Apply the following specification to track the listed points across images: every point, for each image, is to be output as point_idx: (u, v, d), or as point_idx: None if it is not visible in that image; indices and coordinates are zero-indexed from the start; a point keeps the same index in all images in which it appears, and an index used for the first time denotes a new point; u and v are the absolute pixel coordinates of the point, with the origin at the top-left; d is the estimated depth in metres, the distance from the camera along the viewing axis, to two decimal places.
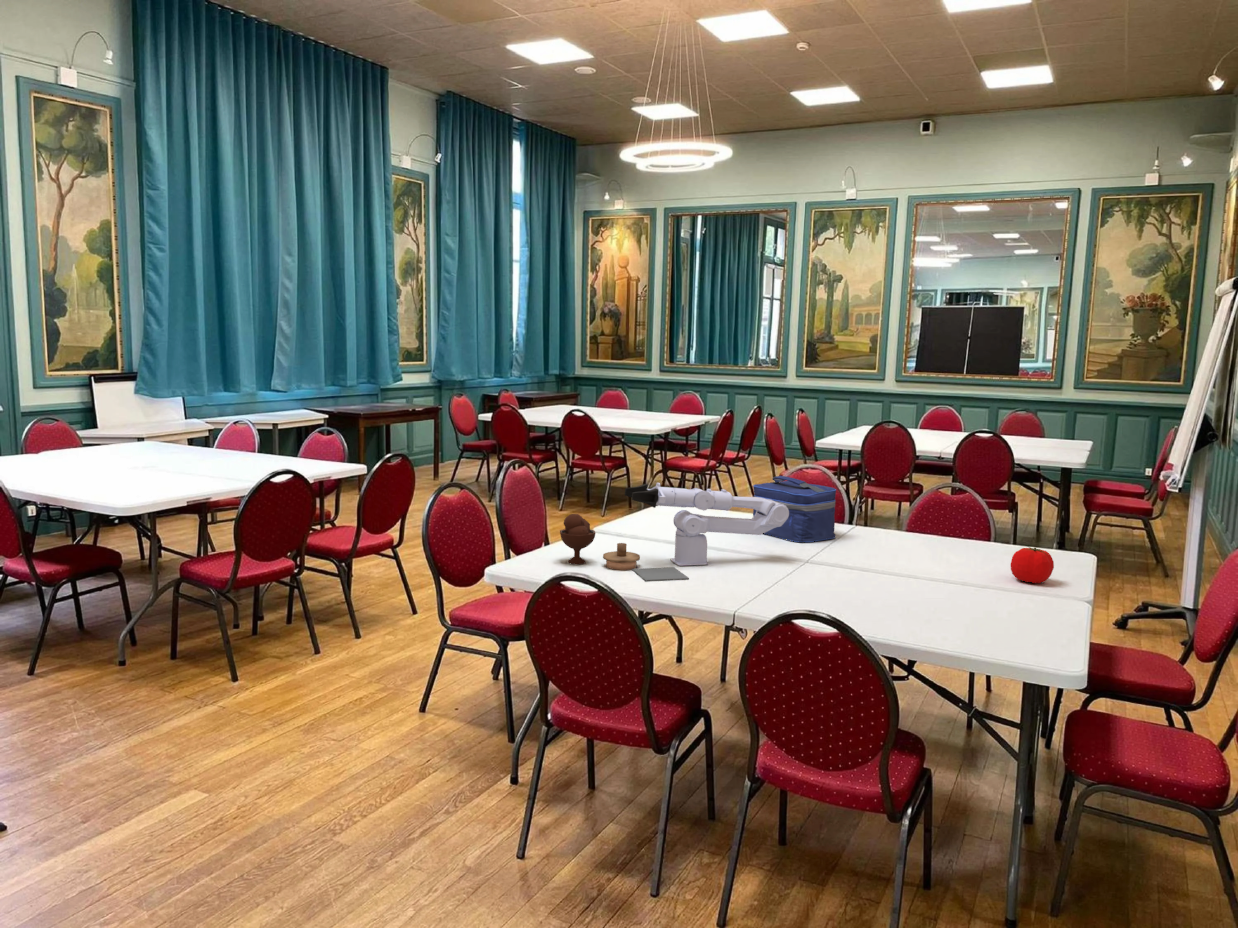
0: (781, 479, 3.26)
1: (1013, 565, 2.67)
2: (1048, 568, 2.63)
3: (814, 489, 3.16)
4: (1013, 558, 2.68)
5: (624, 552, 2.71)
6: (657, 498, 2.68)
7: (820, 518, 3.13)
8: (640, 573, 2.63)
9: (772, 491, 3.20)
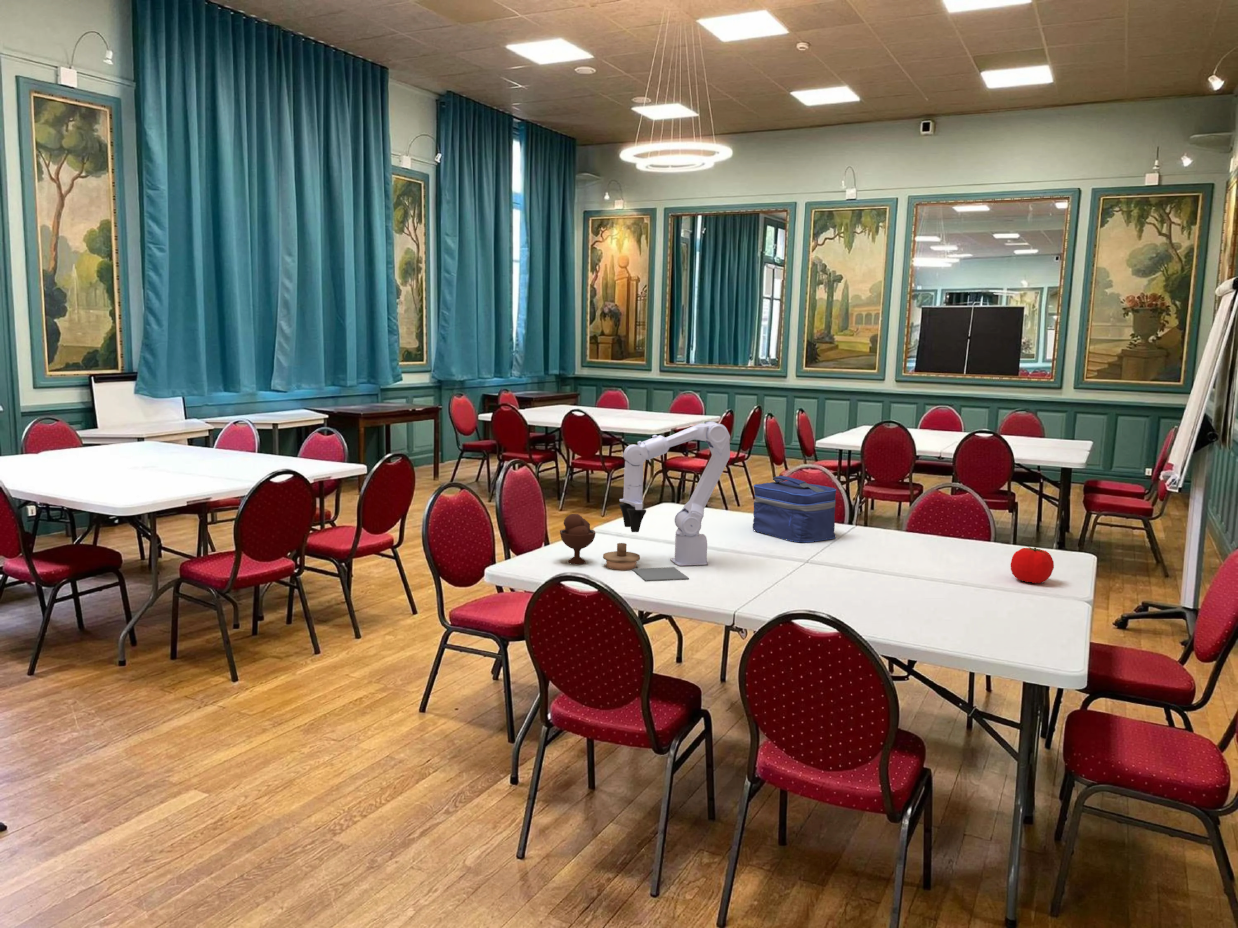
0: (781, 479, 3.26)
1: (1013, 565, 2.67)
2: (1048, 568, 2.63)
3: (814, 489, 3.16)
4: (1013, 558, 2.68)
5: (624, 552, 2.71)
6: (637, 510, 2.68)
7: (820, 518, 3.13)
8: (640, 573, 2.63)
9: (772, 491, 3.21)
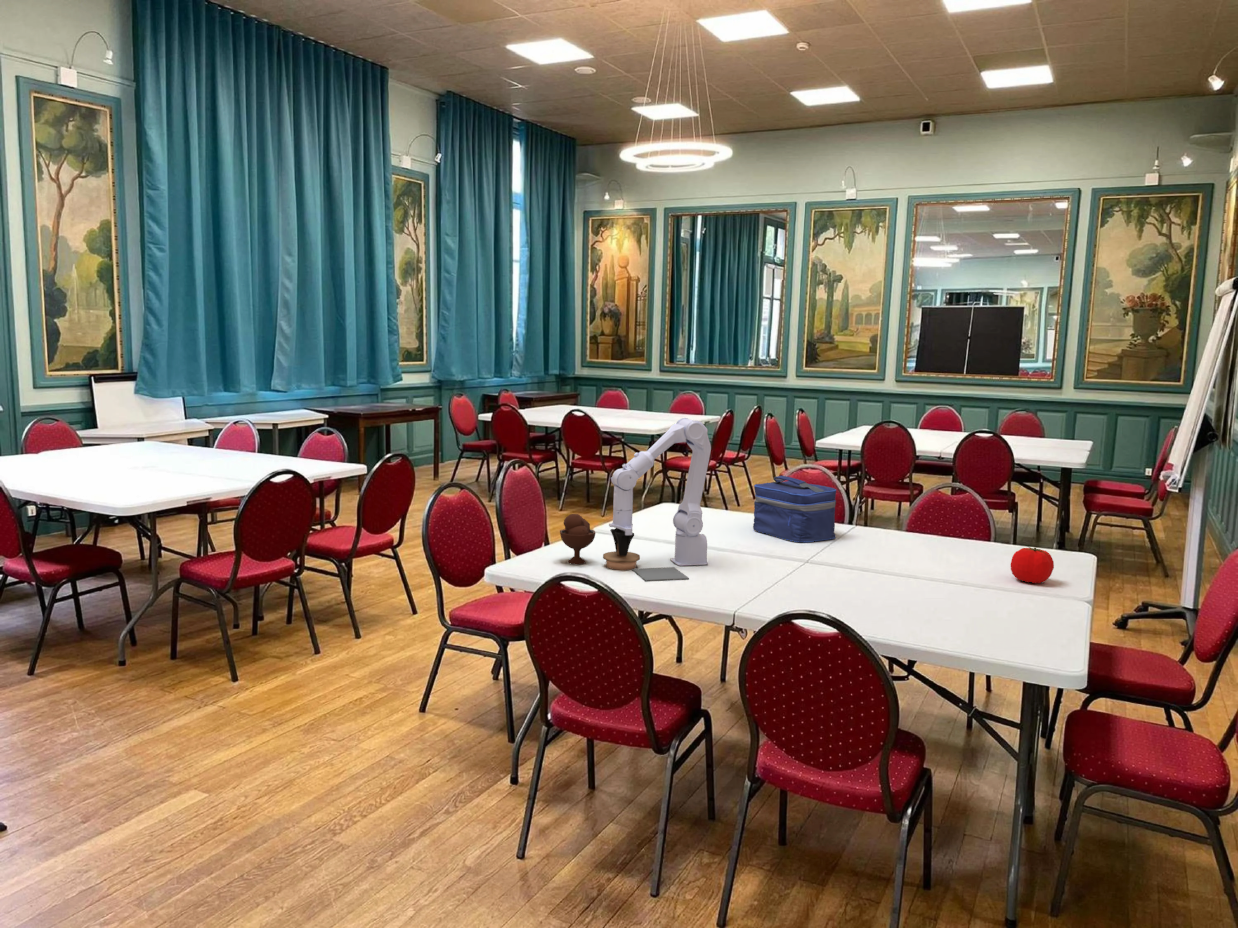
0: (782, 479, 3.26)
1: (1013, 565, 2.67)
2: (1048, 568, 2.63)
3: (813, 489, 3.16)
4: (1013, 558, 2.68)
5: None
6: (625, 533, 2.67)
7: (819, 518, 3.13)
8: (640, 573, 2.63)
9: (772, 491, 3.21)
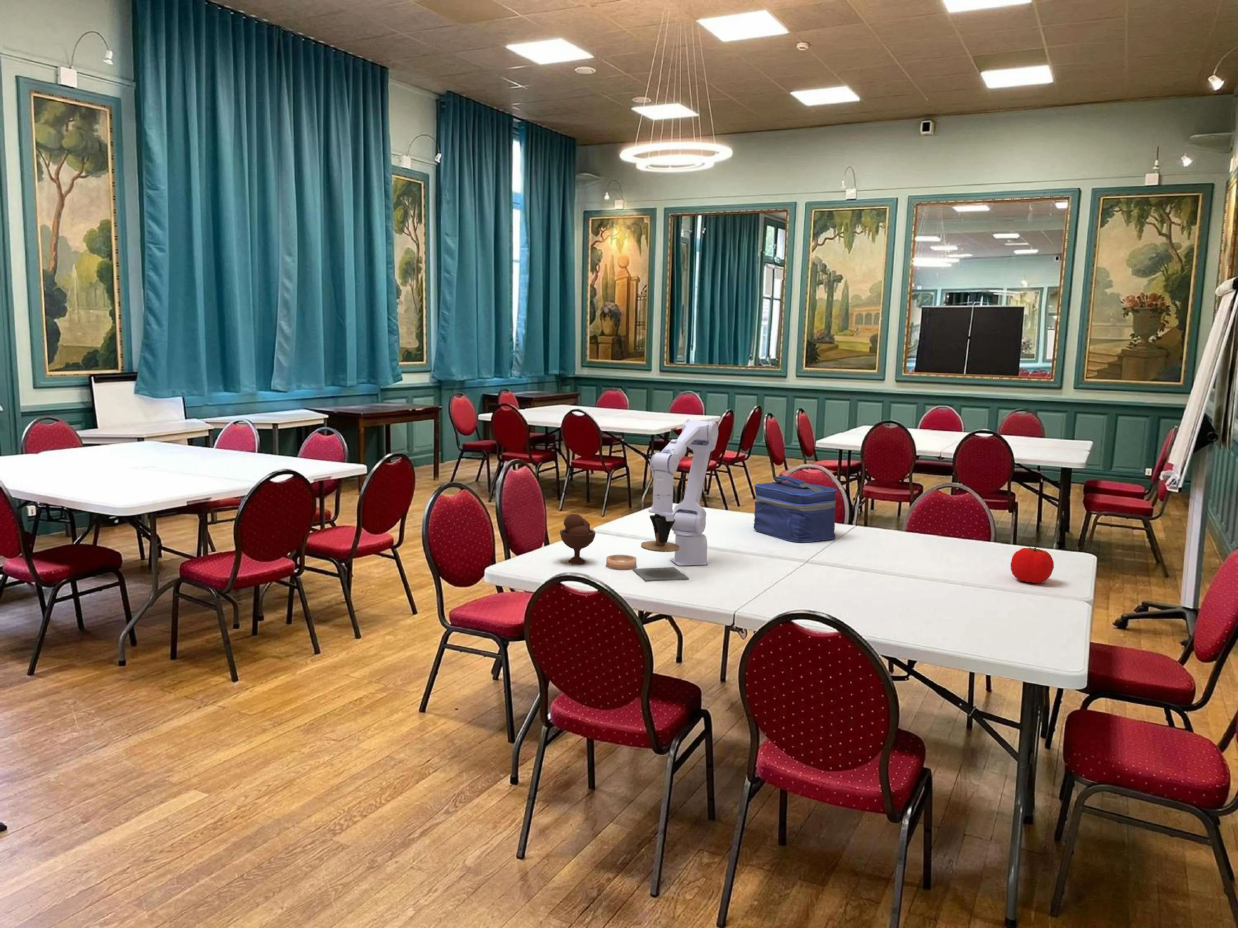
0: (782, 479, 3.27)
1: (1013, 565, 2.67)
2: (1048, 568, 2.63)
3: (813, 489, 3.16)
4: (1013, 558, 2.68)
5: None
6: (666, 519, 2.58)
7: (818, 518, 3.13)
8: (640, 573, 2.63)
9: (771, 491, 3.21)
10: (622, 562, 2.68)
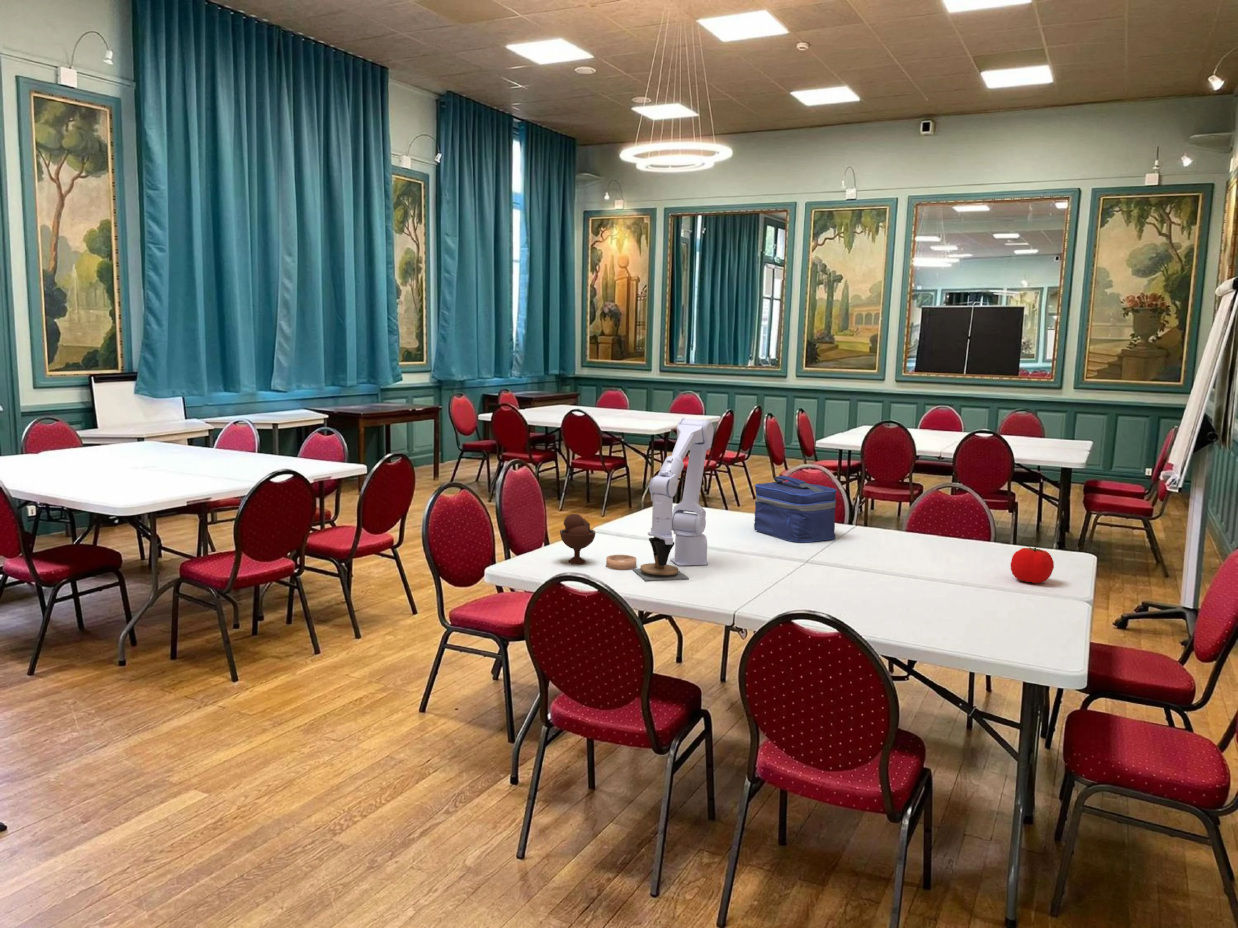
0: (782, 479, 3.27)
1: (1013, 565, 2.67)
2: (1048, 568, 2.63)
3: (813, 489, 3.15)
4: (1013, 558, 2.68)
5: None
6: (665, 542, 2.59)
7: (818, 518, 3.13)
8: (640, 573, 2.63)
9: (771, 491, 3.21)
10: (622, 562, 2.68)
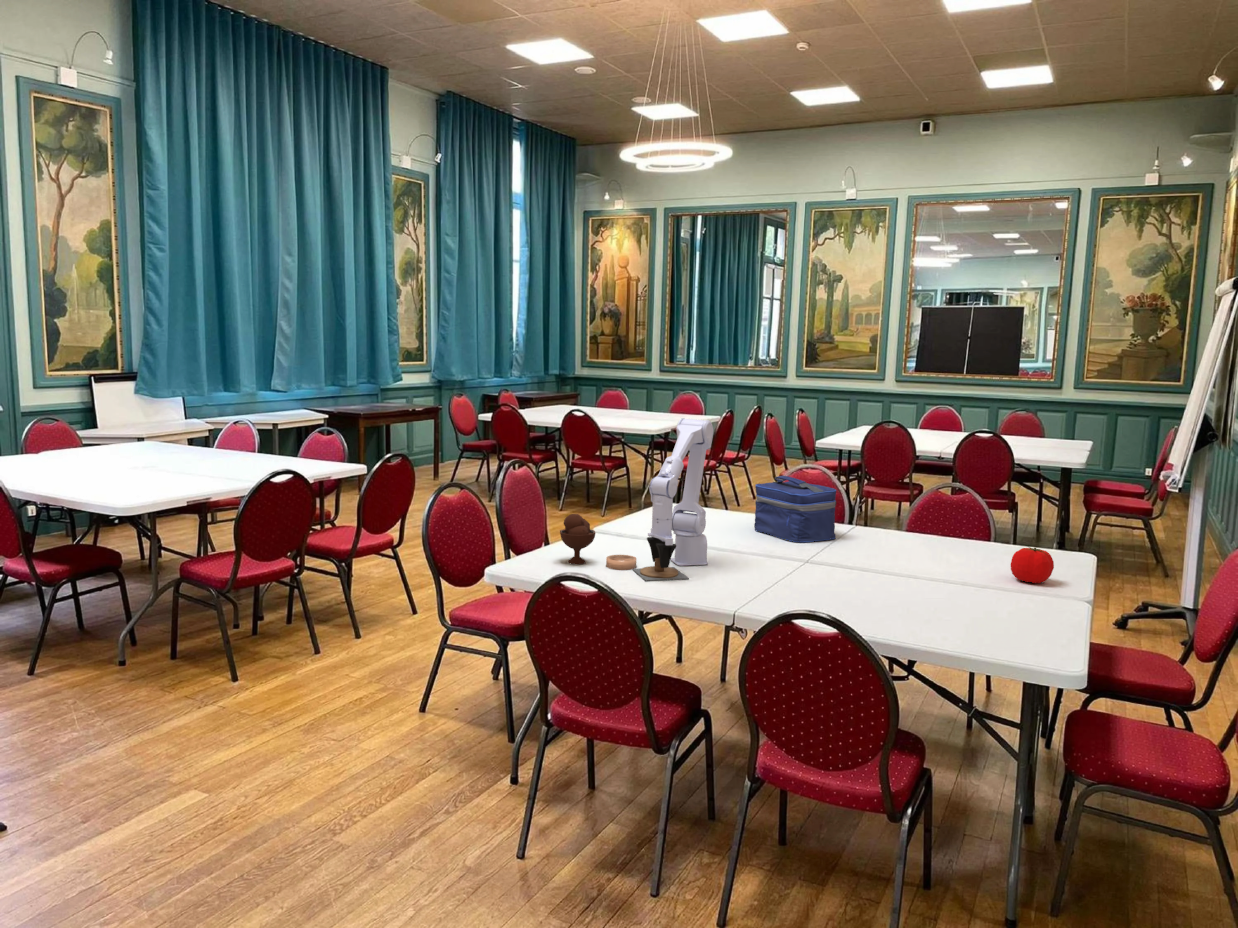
0: (782, 479, 3.27)
1: (1013, 565, 2.67)
2: (1048, 568, 2.63)
3: (812, 489, 3.15)
4: (1013, 558, 2.68)
5: None
6: (667, 545, 2.57)
7: (817, 518, 3.13)
8: None
9: (771, 490, 3.21)
10: (622, 562, 2.68)
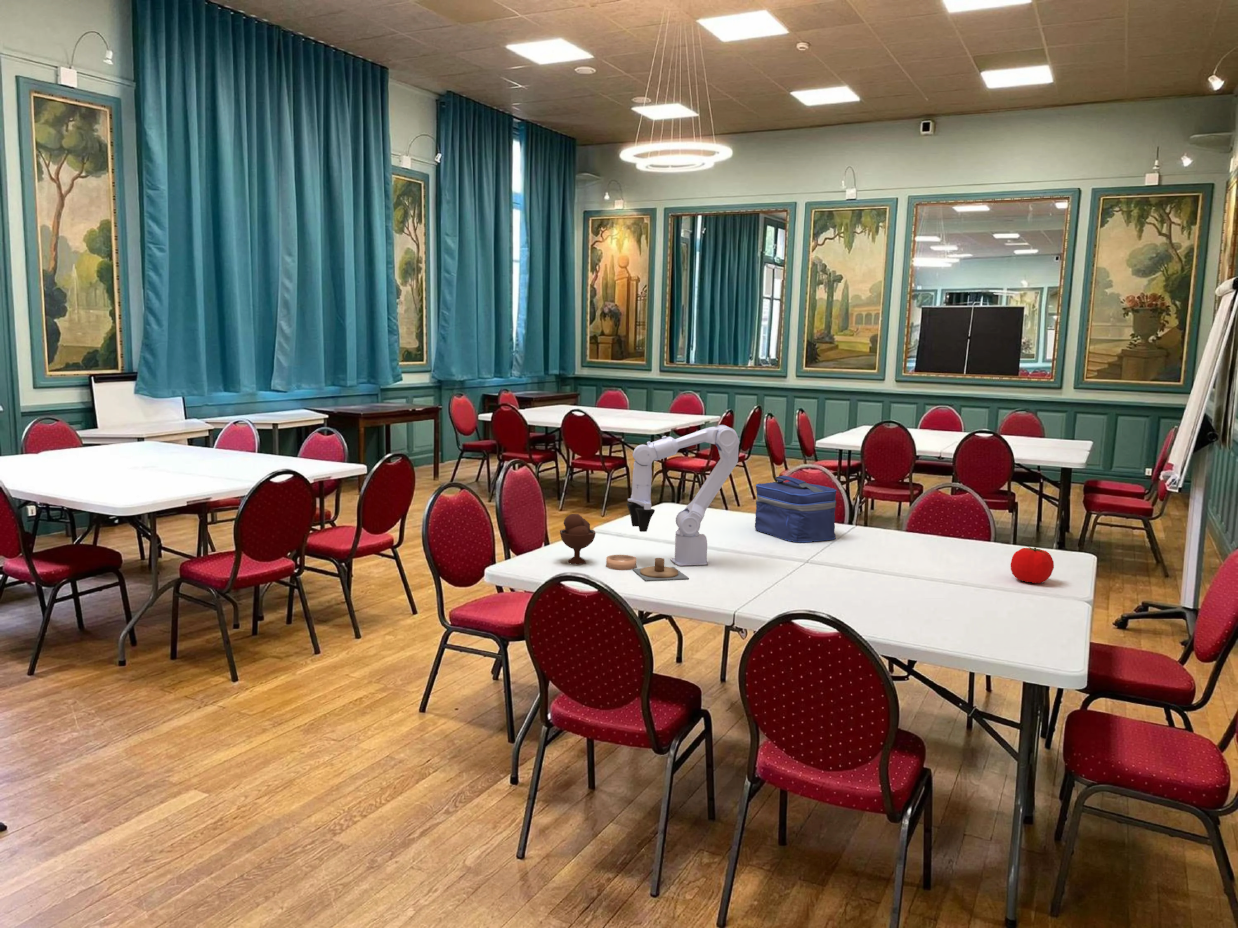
0: (783, 479, 3.27)
1: (1013, 565, 2.67)
2: (1048, 568, 2.63)
3: (812, 489, 3.15)
4: (1013, 558, 2.68)
5: (662, 567, 2.63)
6: None
7: (817, 518, 3.13)
8: None
9: (771, 490, 3.22)
10: (622, 562, 2.68)
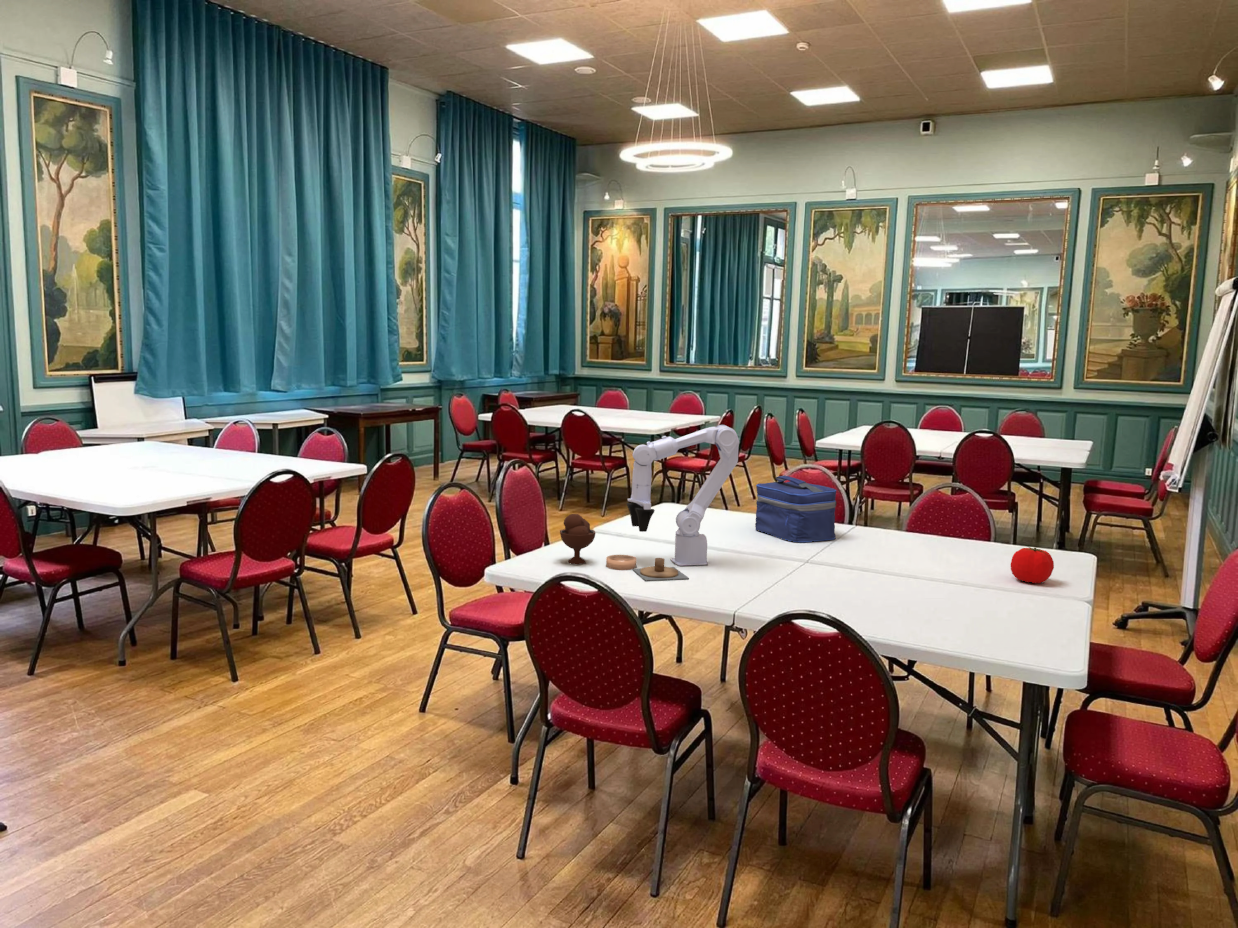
0: (783, 479, 3.27)
1: (1013, 565, 2.67)
2: (1048, 568, 2.63)
3: (812, 489, 3.15)
4: (1013, 558, 2.68)
5: (662, 567, 2.63)
6: (645, 509, 2.70)
7: (816, 518, 3.13)
8: None
9: (771, 490, 3.22)
10: (622, 562, 2.68)
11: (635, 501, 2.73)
